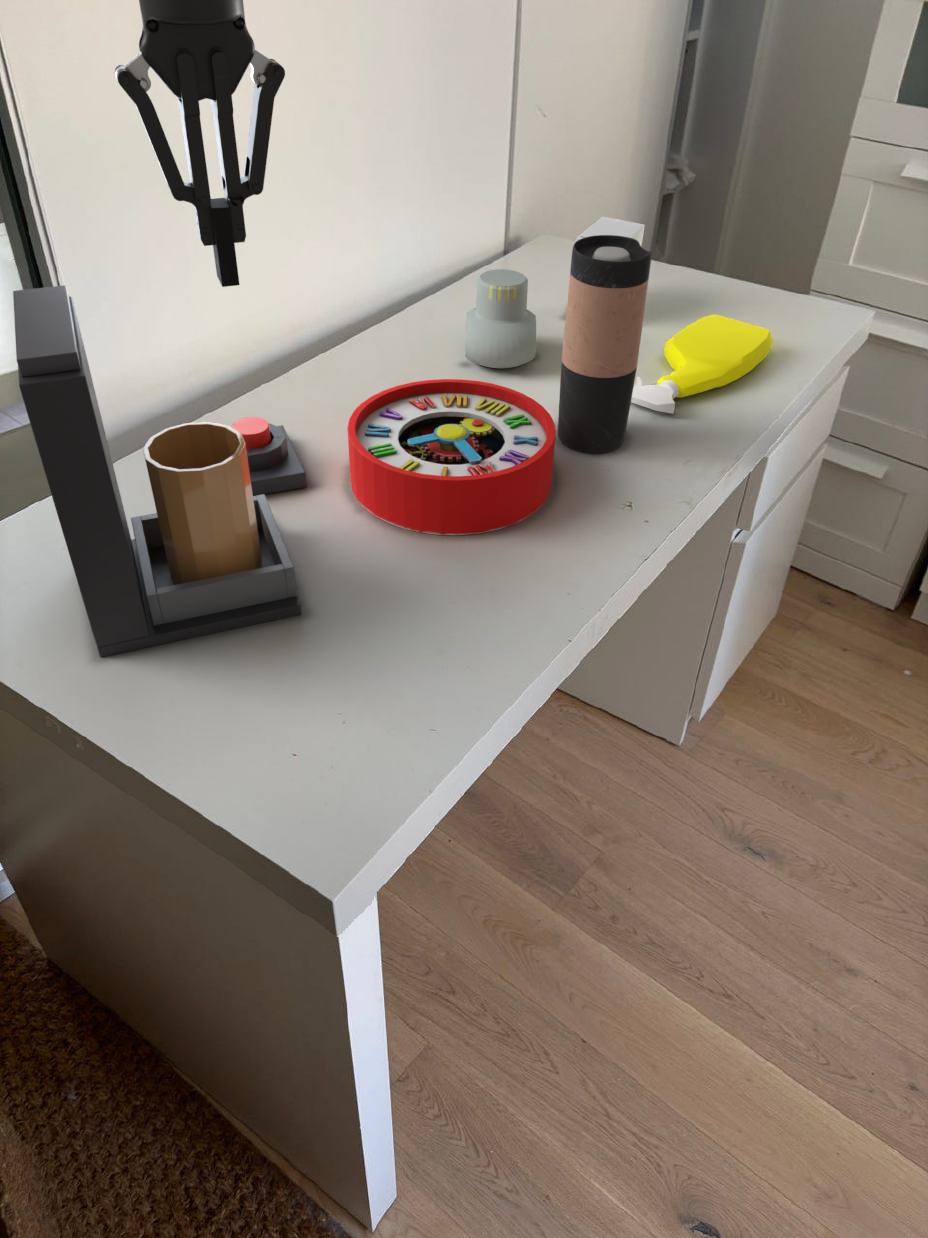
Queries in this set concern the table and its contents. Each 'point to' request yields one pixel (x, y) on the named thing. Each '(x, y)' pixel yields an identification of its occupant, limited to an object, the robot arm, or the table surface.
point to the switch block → (275, 465)
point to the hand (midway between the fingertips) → (228, 280)
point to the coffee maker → (93, 510)
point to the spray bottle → (705, 360)
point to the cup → (203, 500)
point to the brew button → (253, 431)
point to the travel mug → (601, 341)
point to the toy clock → (451, 456)
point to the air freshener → (501, 321)
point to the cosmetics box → (614, 229)
